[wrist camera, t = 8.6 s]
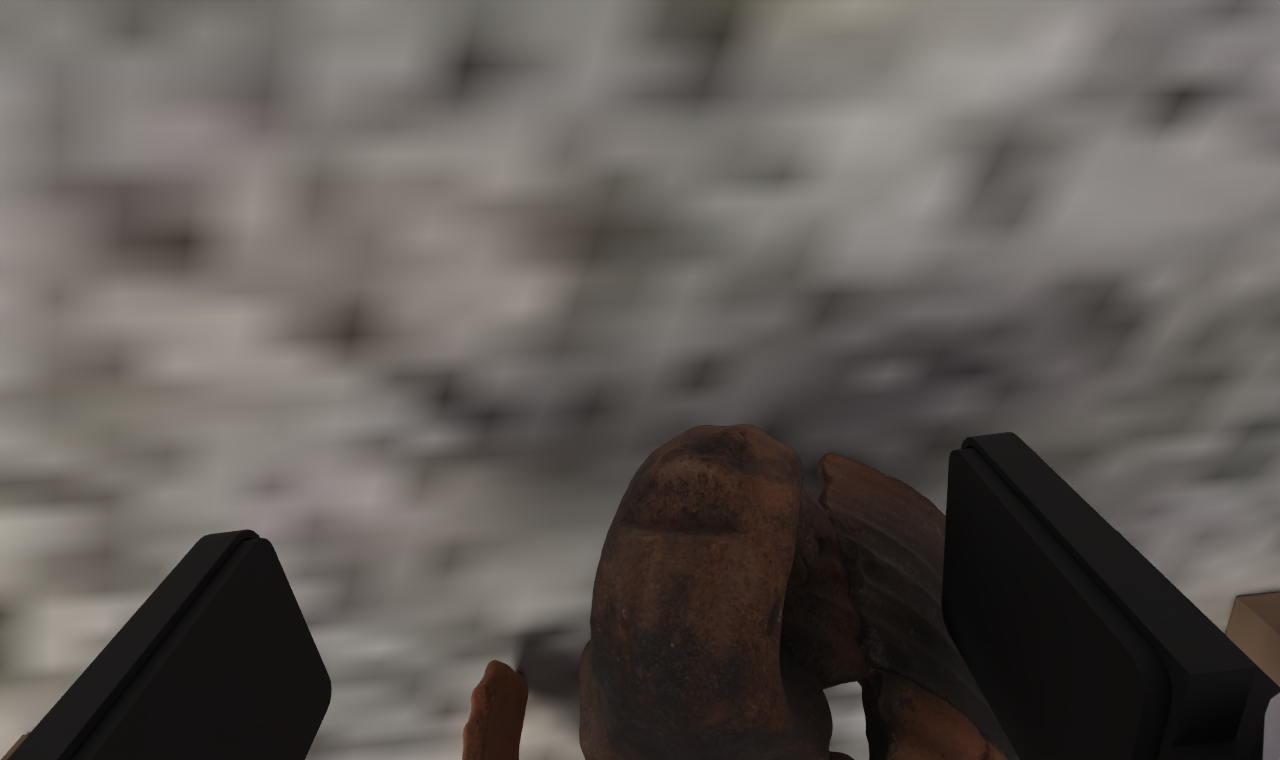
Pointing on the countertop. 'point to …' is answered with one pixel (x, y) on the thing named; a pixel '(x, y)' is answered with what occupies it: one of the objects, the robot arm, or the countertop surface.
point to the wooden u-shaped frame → (1259, 626)
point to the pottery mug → (760, 617)
